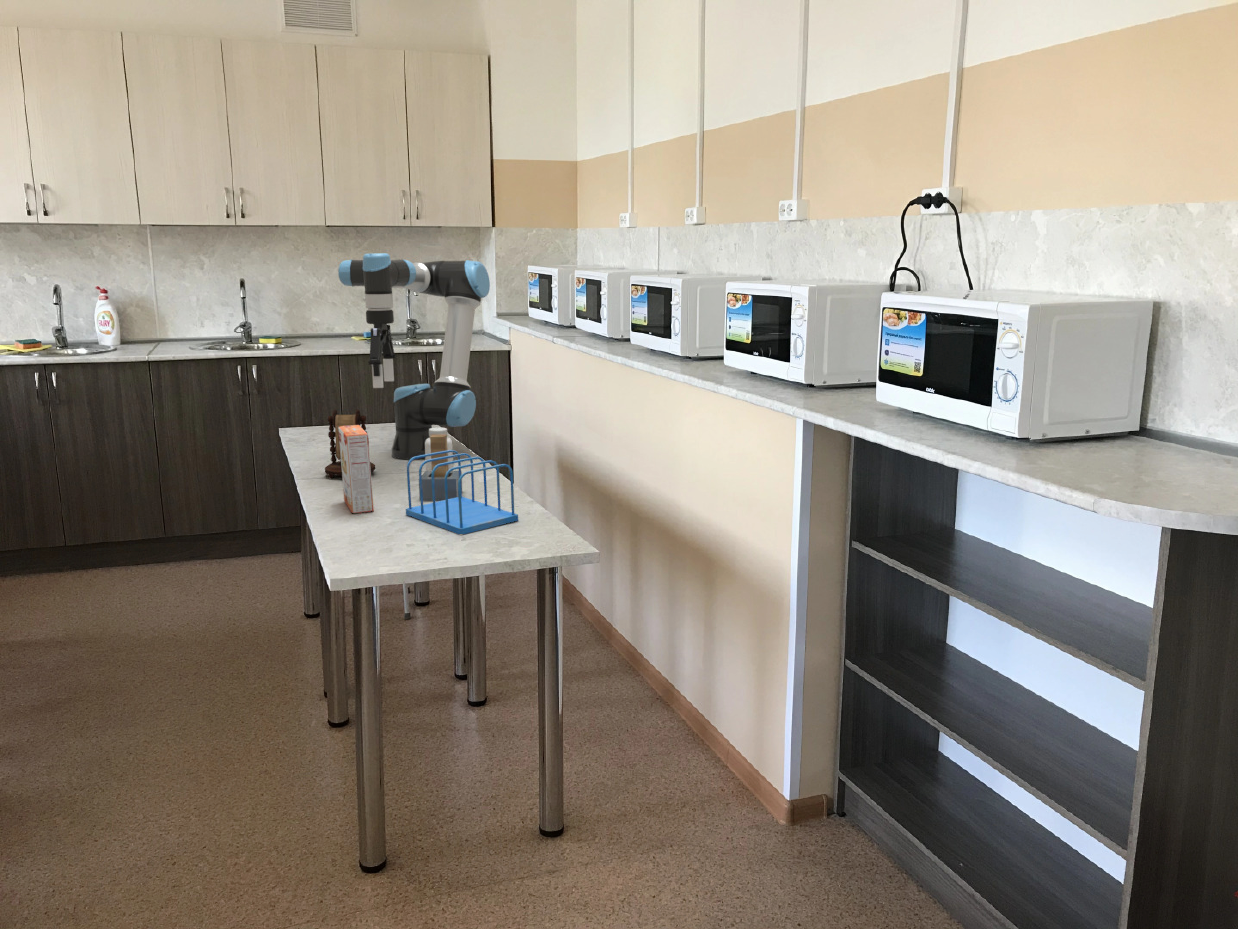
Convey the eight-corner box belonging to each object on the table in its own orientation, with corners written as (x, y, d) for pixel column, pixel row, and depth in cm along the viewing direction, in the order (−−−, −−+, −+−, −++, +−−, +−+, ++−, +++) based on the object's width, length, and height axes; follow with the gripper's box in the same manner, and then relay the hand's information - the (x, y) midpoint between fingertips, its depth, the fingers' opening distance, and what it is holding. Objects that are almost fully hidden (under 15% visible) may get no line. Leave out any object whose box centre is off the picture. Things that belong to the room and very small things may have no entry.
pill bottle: (447, 482, 287) (445, 431, 284) (422, 481, 289) (419, 430, 286) (457, 476, 295) (455, 426, 292) (432, 475, 297) (429, 426, 293)
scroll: (319, 480, 290) (314, 413, 286) (332, 469, 305) (327, 405, 300) (369, 480, 291) (365, 413, 286) (380, 469, 305) (376, 405, 301)
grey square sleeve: (426, 491, 276) (425, 470, 275) (462, 491, 276) (461, 470, 275) (419, 500, 267) (418, 479, 265) (456, 500, 267) (455, 478, 265)
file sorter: (405, 515, 253) (401, 457, 249) (461, 503, 264) (459, 447, 261) (460, 536, 235) (458, 473, 231) (519, 521, 246) (517, 461, 243)
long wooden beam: (434, 491, 273) (432, 434, 269) (449, 491, 273) (446, 434, 269) (432, 493, 270) (430, 436, 266) (447, 493, 270) (444, 436, 266)
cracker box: (342, 502, 266) (337, 425, 261) (365, 499, 268) (360, 424, 264) (350, 514, 253) (344, 434, 249) (374, 512, 256) (369, 432, 251)
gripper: (376, 306, 289) (380, 378, 294) (354, 312, 265) (359, 390, 270) (402, 306, 289) (406, 378, 294) (382, 312, 265) (387, 390, 270)
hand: (383, 384), depth 282 cm, fingers open, 13 cm apart
